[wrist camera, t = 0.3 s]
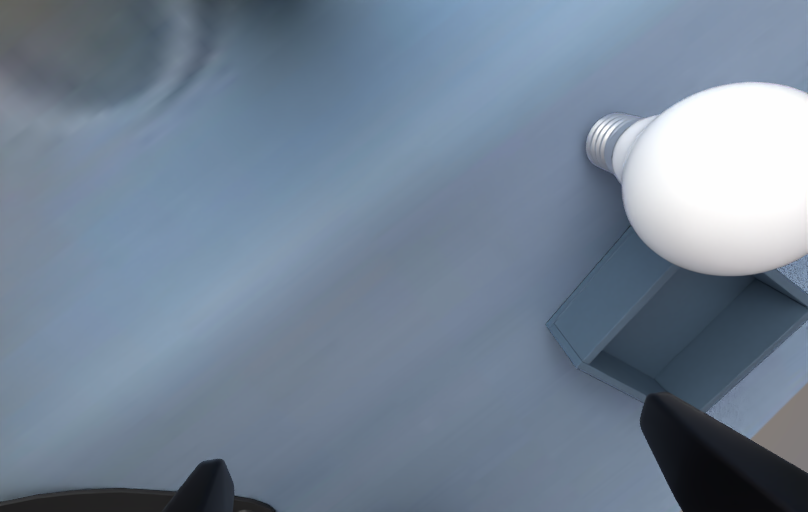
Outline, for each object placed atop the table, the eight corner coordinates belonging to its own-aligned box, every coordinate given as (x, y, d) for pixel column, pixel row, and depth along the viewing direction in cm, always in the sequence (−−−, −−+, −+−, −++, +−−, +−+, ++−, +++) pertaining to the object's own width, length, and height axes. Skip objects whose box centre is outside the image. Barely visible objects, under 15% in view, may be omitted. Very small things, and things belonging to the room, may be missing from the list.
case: (648, 381, 30) (690, 427, 26) (544, 324, 27) (575, 368, 23) (759, 271, 27) (823, 306, 23) (658, 193, 24) (714, 219, 20)
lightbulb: (528, 104, 21) (691, 159, 11) (656, 45, 20) (946, 46, 11) (560, 218, 24) (715, 343, 14) (674, 168, 23) (917, 260, 13)
